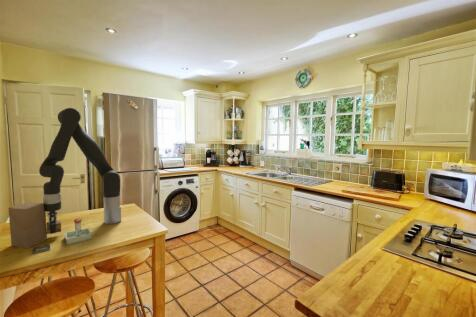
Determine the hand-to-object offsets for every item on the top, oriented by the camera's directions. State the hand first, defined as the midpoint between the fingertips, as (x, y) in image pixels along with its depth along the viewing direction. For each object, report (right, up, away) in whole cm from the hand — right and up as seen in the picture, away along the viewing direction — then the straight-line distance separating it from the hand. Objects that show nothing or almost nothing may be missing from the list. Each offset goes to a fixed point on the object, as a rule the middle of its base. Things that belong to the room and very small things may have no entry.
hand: (52, 231), depth 123 cm
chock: (0, 0, 0) cm, 1 cm away
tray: (+14, -4, 0) cm, 15 cm away
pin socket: (+5, -5, -12) cm, 14 cm away
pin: (+14, -3, 0) cm, 15 cm away
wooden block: (-7, -4, -6) cm, 10 cm away
